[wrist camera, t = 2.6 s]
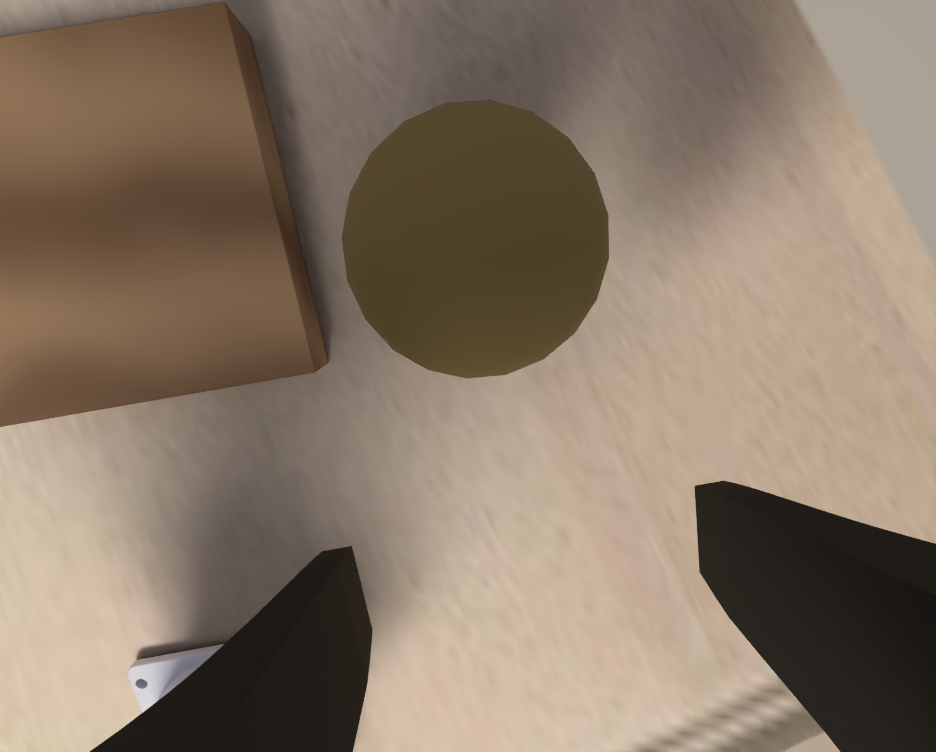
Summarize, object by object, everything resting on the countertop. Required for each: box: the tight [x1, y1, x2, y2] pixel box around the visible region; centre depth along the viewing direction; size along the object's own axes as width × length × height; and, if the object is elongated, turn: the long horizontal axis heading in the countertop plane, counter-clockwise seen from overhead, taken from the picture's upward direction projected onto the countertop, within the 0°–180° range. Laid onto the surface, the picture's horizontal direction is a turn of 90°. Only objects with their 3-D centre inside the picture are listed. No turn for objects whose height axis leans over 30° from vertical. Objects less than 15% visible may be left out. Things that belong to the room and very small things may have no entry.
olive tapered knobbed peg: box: [342, 100, 609, 378], centre depth 13 cm, size 6×6×11 cm
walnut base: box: [0, 2, 328, 427], centre depth 16 cm, size 12×12×2 cm
